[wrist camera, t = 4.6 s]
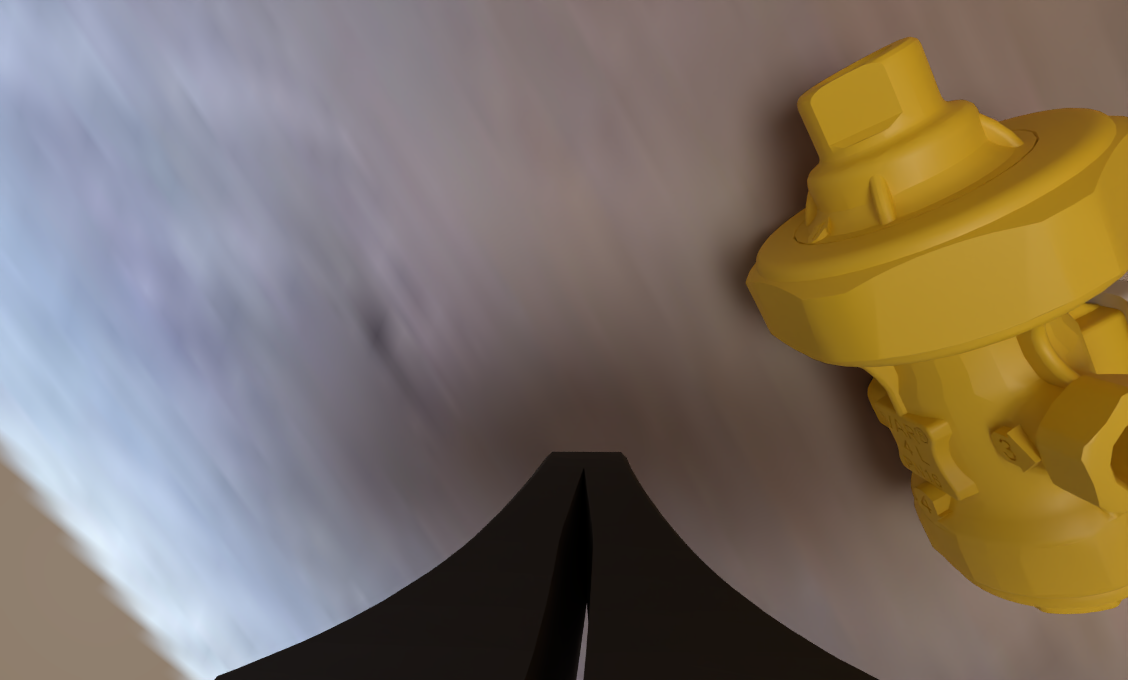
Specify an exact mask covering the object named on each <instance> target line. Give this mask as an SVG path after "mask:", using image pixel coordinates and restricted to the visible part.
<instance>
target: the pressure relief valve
mask: <svg viewBox="0 0 1128 680" xmlns="http://www.w3.org/2000/svg"><path fill="white" fill-rule="evenodd" d="M797 107H798V111H799V113H800V115H801V118H802V120H803V122H804V124H805V126H806V129H807V131H808V133H809V135H810V138H811V140H812V142H813V144H814V147H815V149H816V151H817V153H818V156H819V159H820V161H819V164H818V165H817V166H815V167H814V168H813V169H812V171H811V172H810V173H809V176H808V179H807V186H808V189H809V192H808V195H807V201H806V208H805V209H803V210H802V211H800V212H799V213H797V214H796V215H794V216H793V217H792V218H790V219H789V220H788V221H786V222H785V223H784V224H783V225H781V226H780V227H779V228H778V229H777V230H776V231H775V232H774V233H773V234H771V235H770V236H769V237H768V239H767V240H766V241H765V243H764V244H763V245H762V247H761V248H760V250H759V252H758V254H757V258H756V263H755V264H754V266H753V267H752V269H751V270H750V272H749V274H748V277H747V280H746V285H747V287H748V289H749V291H750V293H751V295H752V297H753V299H754V301H755V303H756V305H757V307H758V309H759V311H760V313H761V315H762V317H763V319H764V321H765V323H766V325H767V327H768V329H769V331H770V333H771V334H772V335H774V336H775V337H776V338H778V339H779V340H781V341H782V342H784V343H785V344H787V345H788V346H790V347H792V348H793V349H795V350H797V351H799V352H801V353H803V354H805V355H807V356H809V357H811V358H812V359H814V360H818V361H821V362H824V363H827V364H832V365H839V366H846V367H861V368H862V369H864V370H866V371H867V372H868V373H869V374H870V375H872V376H873V379H872V381H871V383H870V384H869V386H868V393H867V395H868V398H869V400H870V403H871V405H872V408H873V410H874V411H875V413H876V415H877V417H878V419H879V421H880V423H882V424H883V425H885V426H887V427H888V428H889V429H890V430H891V432H892V434H893V436H894V438H895V440H896V443H897V445H898V449H899V457H900V459H901V461H902V463H903V465H904V466H905V467H906V468H908V469H909V470H911V471H912V477H911V489H912V493H913V496H914V506H915V509H916V511H917V514H918V517H919V519H920V521H921V523H922V526H923V528H924V530H925V532H926V534H927V536H928V538H929V540H930V542H931V544H932V547H933V548H934V549H936V550H937V551H938V552H939V553H940V554H941V555H943V556H944V557H945V558H946V559H947V560H948V562H950V563H951V564H952V565H953V566H954V567H955V568H956V569H957V570H959V571H960V572H961V574H963V575H964V576H965V577H966V578H967V579H968V580H969V581H971V582H972V583H973V584H975V585H976V586H978V587H980V588H981V589H983V590H985V591H987V592H989V593H991V594H993V595H995V596H998V597H1000V598H1003V599H1006V600H1009V601H1012V602H1016V603H1020V604H1025V605H1029V606H1034V607H1036V608H1038V609H1039V610H1041V611H1042V612H1046V613H1055V614H1079V613H1089V612H1097V611H1102V610H1107V609H1112V608H1115V607H1117V606H1118V605H1119V604H1120V602H1121V601H1122V599H1124V598H1127V597H1128V281H1122V280H1118V279H1120V278H1121V277H1122V276H1123V275H1124V274H1125V273H1126V272H1127V271H1128V117H1125V116H1107V115H1106V114H1104V113H1102V112H1100V111H1096V110H1092V109H1085V108H1063V109H1053V110H1047V111H1041V112H1036V113H1031V114H1027V115H1022V116H1018V117H1014V118H1010V119H1007V120H1003V121H1000V122H998V121H996V120H994V119H992V118H989V117H987V116H985V115H983V114H980V113H979V111H978V109H977V108H976V106H975V105H974V104H973V103H971V102H969V101H966V100H954V101H948V102H947V101H945V100H944V99H943V98H942V97H941V94H940V92H939V89H938V87H937V84H936V81H935V79H934V76H933V74H932V71H931V68H930V66H929V63H928V61H927V58H926V55H925V53H924V50H923V48H922V45H921V43H920V42H919V40H918V39H917V38H913V37H907V38H904V39H901V40H898V41H896V42H894V43H891V44H889V45H887V46H885V47H883V48H881V49H879V50H877V51H875V52H873V53H872V54H870V55H868V56H866V57H864V58H862V59H860V60H858V61H857V62H855V63H853V64H851V65H849V66H847V67H846V68H844V69H842V70H840V71H839V72H837V73H835V74H833V75H832V76H830V77H828V78H826V79H825V80H823V81H821V82H820V83H818V84H817V85H815V86H813V87H812V88H810V89H809V90H807V91H806V92H805V93H804V94H803V95H801V96H800V97H799V100H798V102H797Z"/></svg>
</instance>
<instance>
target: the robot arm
mask: <svg viewBox="0 0 1128 680" xmlns="http://www.w3.org/2000/svg"><path fill="white" fill-rule="evenodd" d="M586 605H587V610H588V636H587V649H586V660H585V670H584V680H879V679H877V678H875V677H873V676H871V675H869V674H867V673H865V672H863V671H861V670H859V669H857V668H855V667H854V666H852V665H850V664H848V663H846V662H844V661H842V660H840V659H838V658H836V657H835V656H833V655H831V654H829V653H828V652H826V651H824V650H823V649H821V648H819V647H818V646H816V645H815V644H813V643H811V642H810V641H808V640H807V639H805V638H803V637H802V636H800V635H798V634H797V633H795V632H794V631H792V630H790V629H789V628H787V627H786V626H784V625H783V624H781V623H780V622H778V621H777V620H775V619H774V618H773V617H771V616H770V615H768V614H767V613H765V612H764V611H762V610H761V609H760V608H759V607H757V606H756V605H755V604H753V603H752V602H751V601H749V600H748V599H747V598H745V597H744V596H743V595H741V594H740V593H739V592H737V591H736V590H735V589H733V588H732V587H731V586H730V585H729V584H727V583H726V582H725V581H724V580H723V579H721V578H720V577H719V576H718V575H717V574H716V573H715V572H714V571H712V570H711V569H710V568H709V567H708V566H707V565H706V564H705V563H704V562H703V561H702V560H701V559H700V558H699V557H698V556H697V555H696V554H695V553H694V552H693V551H692V550H691V549H690V548H689V547H688V545H687V544H686V543H685V542H684V541H683V540H682V539H681V538H680V536H679V535H678V534H677V533H676V532H675V531H674V530H673V528H672V527H671V526H670V525H669V523H668V522H667V521H666V520H665V518H664V517H663V516H662V515H661V513H660V512H659V510H658V509H657V508H656V506H655V505H654V504H653V502H652V501H651V500H650V498H649V497H648V495H647V494H646V492H645V491H644V489H643V488H642V486H641V485H640V483H639V481H638V480H637V478H636V476H635V475H634V473H633V471H632V469H631V467H630V465H629V463H628V460H627V458H626V457H625V456H624V455H623V454H622V453H621V452H552V453H551V454H550V455H549V456H548V457H547V458H546V459H545V460H544V461H543V463H542V464H541V465H540V467H539V468H538V469H537V470H536V472H535V473H534V474H533V475H532V477H531V478H530V479H529V480H528V482H527V483H526V484H525V485H524V486H523V487H522V489H521V490H520V491H519V492H518V493H517V494H516V495H515V496H514V497H513V499H512V500H511V501H510V502H509V503H508V504H507V505H506V506H505V507H504V508H503V510H502V511H501V512H500V513H499V514H498V515H497V516H496V517H494V518H493V519H492V520H491V521H490V522H489V523H488V524H487V525H486V526H485V527H484V528H483V529H482V530H481V531H480V532H479V533H478V534H477V535H476V536H475V537H474V538H472V539H471V540H470V541H469V542H468V543H467V544H466V545H464V546H463V547H462V548H461V549H459V550H458V551H457V552H456V553H454V554H453V555H452V556H450V557H449V558H448V559H446V560H445V561H444V562H442V563H441V564H440V565H438V566H437V567H435V568H434V569H433V570H431V571H430V572H428V573H427V574H425V575H423V576H422V577H420V578H419V579H417V580H416V581H414V582H412V583H411V584H409V585H408V586H406V587H405V588H403V589H401V590H400V591H398V592H397V593H395V594H393V595H392V596H390V597H389V598H387V599H386V600H384V601H382V602H380V603H379V604H377V605H375V606H373V607H371V608H369V609H368V610H366V611H364V612H362V613H360V614H358V615H357V616H355V617H353V618H351V619H349V620H347V621H345V622H343V623H341V624H339V625H337V626H335V627H333V628H331V629H329V630H327V631H325V632H323V633H320V634H318V635H316V636H314V637H312V638H310V639H307V640H305V641H303V642H301V643H298V644H296V645H294V646H291V647H289V648H286V649H284V650H281V651H279V652H277V653H274V654H272V655H269V656H267V657H264V658H262V659H260V660H257V661H255V662H252V663H250V664H248V665H245V666H243V667H240V668H238V669H235V670H232V671H230V672H227V673H224V674H222V675H219V676H217V677H216V679H215V680H576V677H577V670H578V663H579V656H580V649H581V641H582V634H583V627H584V620H585V612H586Z"/></svg>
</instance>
